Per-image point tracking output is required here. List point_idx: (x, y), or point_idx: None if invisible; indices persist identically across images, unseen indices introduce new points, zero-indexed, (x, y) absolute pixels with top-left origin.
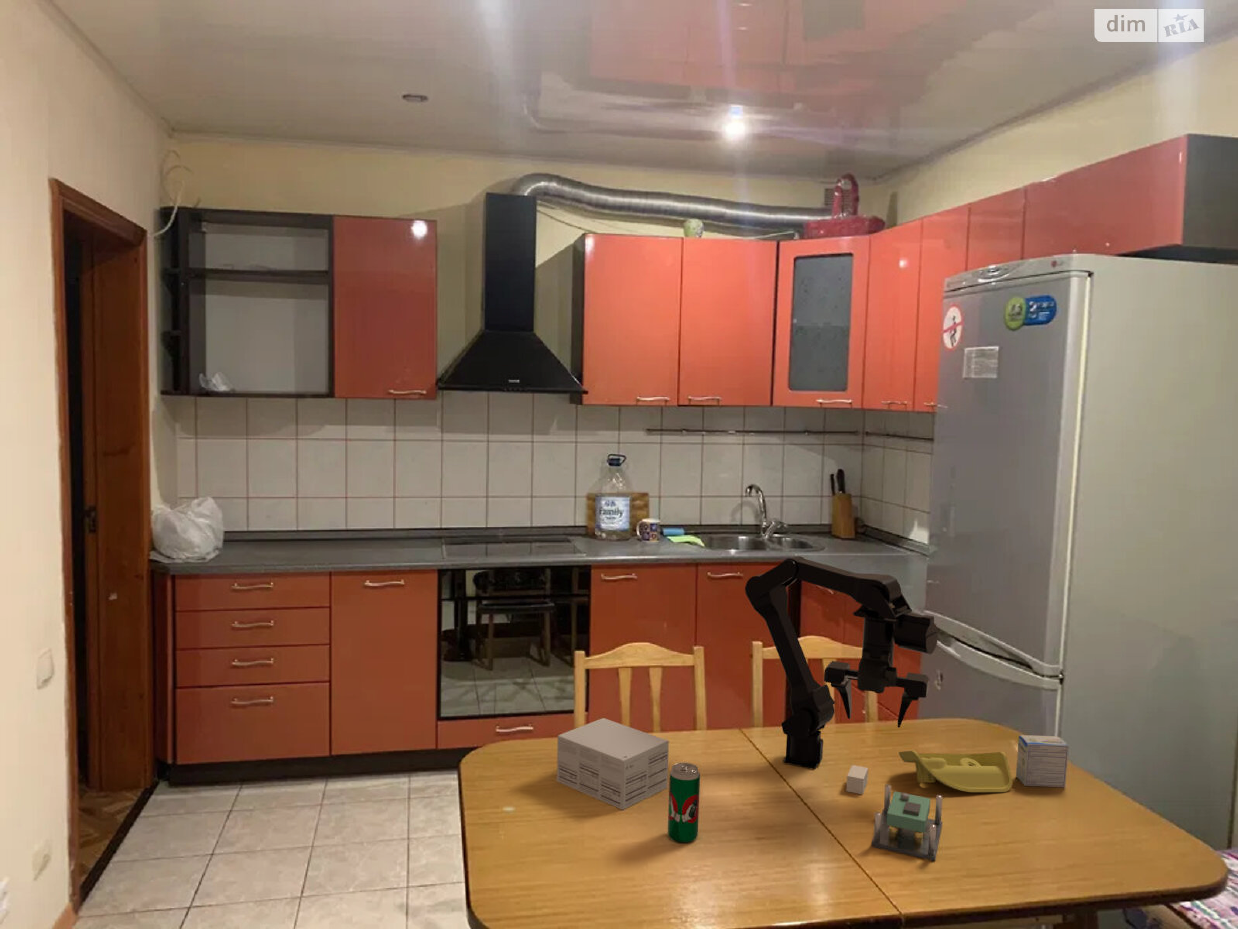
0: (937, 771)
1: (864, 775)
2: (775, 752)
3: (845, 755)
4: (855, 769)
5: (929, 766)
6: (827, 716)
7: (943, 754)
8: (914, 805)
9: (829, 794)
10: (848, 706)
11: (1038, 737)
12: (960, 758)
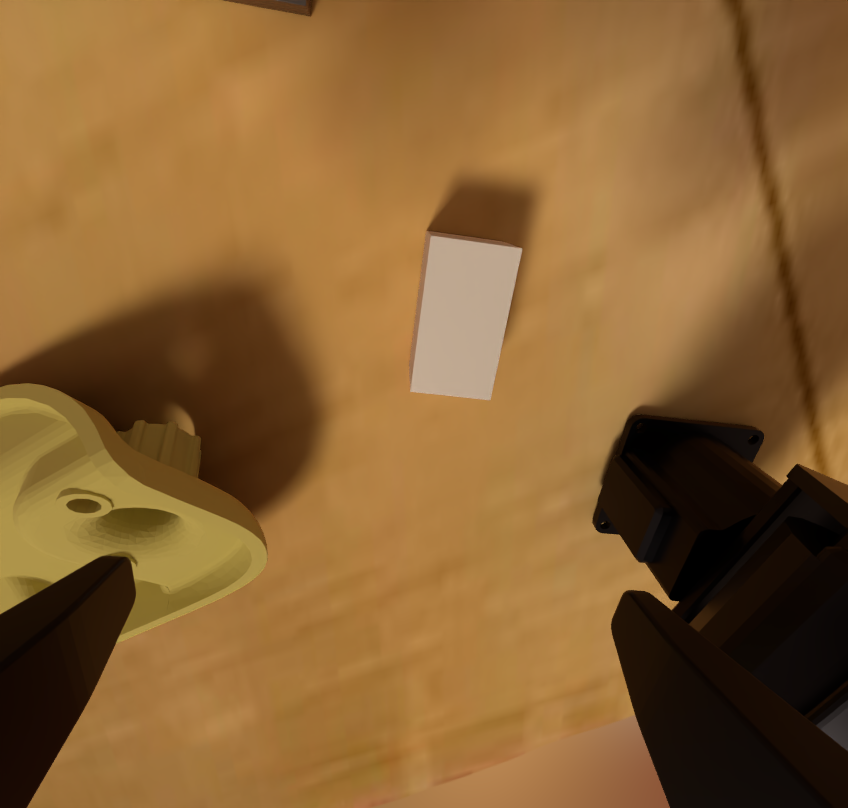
0: (49, 434)
1: (426, 290)
2: None
3: (497, 573)
4: (475, 350)
5: (77, 443)
6: (735, 652)
7: None
8: None
9: (587, 173)
10: (755, 717)
11: None
12: None
